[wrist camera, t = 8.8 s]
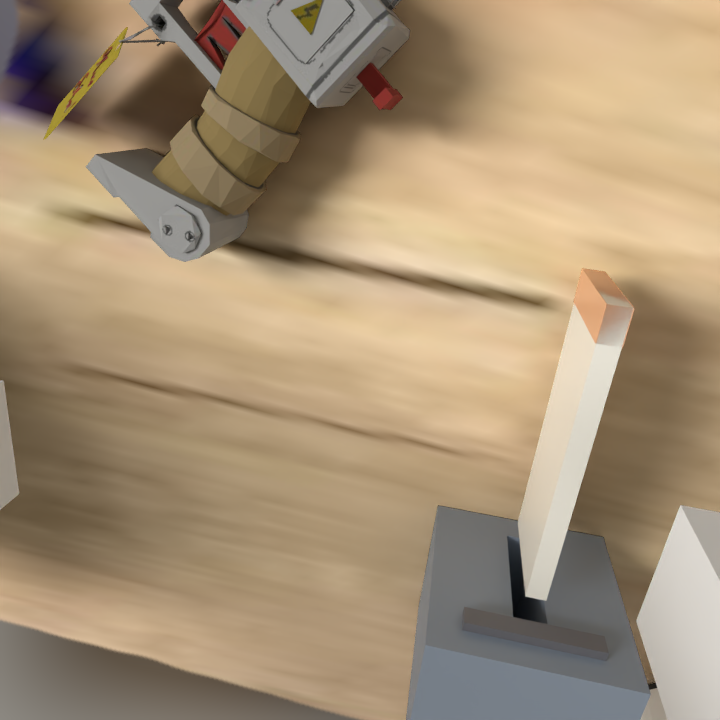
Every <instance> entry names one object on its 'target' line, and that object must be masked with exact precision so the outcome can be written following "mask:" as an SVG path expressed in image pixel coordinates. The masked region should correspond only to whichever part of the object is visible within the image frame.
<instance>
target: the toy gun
mask: <svg viewBox="0 0 720 720" xmlns="http://www.w3.org/2000/svg"><path fill="white" fill-rule="evenodd" d="M182 1H183V0H131V2H130V3H129V4H130V5H131V6H132V7H133V8H134V10H135V11H136V12H137V13H138V14H139V15H140V17H141V18H142V19H143V20H144V21H145V22H146V23H147V25H148V26H149V27H147V28H145V29H143V30H141V31H140V32H138V33H136V34H134V35H132V36H130V37H128V38H126V39H124V38H125V35H126V32H127V29H128V27H126V28H125V29H124V30H123V32H122V33H121V34H120V35H119V36H118V37H117V39H116V40H115V41H114V42H113V43H112V44H111V45H110V47H109V48H108V49H107V50H106V51H105V52H104V54H103V55H102V56H101V57H100V58H99V59H98V60H97V62H96V63H95V64H94V65H93V66H92V67H91V68H90V70H89V71H88V72H87V73H86V74H85V75H84V77H83V78H82V79H81V80H80V81H79V82H78V83H77V85H76V86H75V87H74V88H73V89H72V90H71V91H70V93H69V94H68V95H67V96H66V97H65V98H64V100H63V101H62V102H61V103H60V104H59V105H58V107H57V110H56V112H55V114H54V116H53V119H52V121H51V123H50V126H49V128H48V130H47V133H46V135H45V137H44V139H46V138H47V137H48V136H49V135H50V134H51V132H52V131H53V130H54V129H55V128H56V127H57V126H58V124H59V123H60V122H61V121H62V120H63V119H64V118H65V116H66V115H67V114H68V113H69V112H70V111H71V110H72V108H73V107H74V106H75V105H76V104H77V103H78V102H79V100H80V99H81V98H82V97H83V96H84V95H85V94H86V92H87V91H88V90H89V89H90V88H91V87H92V86H93V84H94V83H95V82H96V81H97V80H98V79H99V78H100V76H101V75H102V74H103V73H104V72H105V71H106V70H107V68H108V67H109V66H110V65H111V64H112V63H113V62H114V60H115V59H116V58H117V57H118V55H119V52H120V49H121V46H122V44H123V43H138V42H160V43H159V44H157V46H159V45H160V44H161V43H162V44H165V42H174V43H176V44H177V45H178V46H179V47H180V48H181V50H182V51H183V52H184V53H185V54H186V55H187V56H188V58H189V59H190V60H191V61H192V62H193V63H194V65H195V66H196V67H197V68H198V69H199V70H200V72H201V73H202V74H203V75H204V76H205V77H206V79H207V80H208V81H209V82H210V83H211V84H212V85H211V86H210V88H209V89H208V92H207V94H206V96H205V98H204V100H203V103H202V105H201V106H202V108H203V109H204V110H205V111H204V113H203V114H202V116H201V117H200V116H198V115H196V114H195V115H194V116H193V117H192V118H191V119H190V120H189V121H188V122H187V123H186V125H185V126H184V127H183V128H182V129H181V130H180V131H179V132H178V133H177V134H176V135H175V137H174V138H173V139H172V140H171V141H170V145H171V150H170V152H169V153H168V154H167V155H166V156H165V157H163V156H161V155H159V154H157V153H155V152H153V151H151V150H149V149H147V148H144V149H136V150H128V151H120V152H112V153H103V154H95V156H94V157H93V158H92V160H91V161H90V162H89V163H88V165H87V166H86V168H87V169H88V170H89V171H90V172H91V173H92V174H93V175H94V176H95V178H96V179H97V180H98V181H99V182H100V183H101V184H102V185H103V186H104V187H105V188H106V190H107V191H108V192H109V193H110V194H111V195H112V196H113V197H120V198H121V199H122V201H123V202H124V203H125V204H126V205H127V206H128V207H129V208H130V209H131V210H132V212H133V213H134V214H135V215H136V216H137V217H138V218H139V219H140V220H141V221H142V222H143V224H144V225H145V226H146V227H147V228H148V229H149V230H150V231H151V238H152V239H153V241H154V242H155V243H156V244H157V245H158V246H159V247H160V248H161V249H162V250H163V251H164V252H165V253H166V254H167V255H168V256H169V257H172V258H175V259H178V260H181V261H184V262H186V261H190V260H193V259H197V258H200V257H202V256H204V255H206V254H208V253H210V252H212V251H213V250H215V249H217V248H219V247H221V246H223V245H225V244H227V243H229V242H231V241H233V240H235V239H237V238H239V237H240V236H241V234H242V233H243V232H244V231H245V229H246V228H247V223H248V216H249V214H248V211H247V209H248V208H249V207H250V206H251V205H252V204H253V203H254V202H255V201H256V200H257V199H258V198H259V197H260V196H261V195H262V194H263V193H264V192H265V191H266V183H265V180H266V178H267V177H268V176H269V175H270V174H271V172H272V171H273V170H274V169H275V168H276V166H277V165H278V164H279V163H280V162H288V161H289V159H290V157H291V156H292V154H293V152H294V150H295V148H296V146H297V145H298V143H299V141H300V137H301V134H300V133H299V132H298V131H297V129H298V127H299V125H300V123H301V121H302V119H303V117H304V115H305V113H306V111H307V109H308V107H309V105H310V103H311V102H312V103H313V105H314V106H315V107H316V108H323V107H335V106H344V105H345V104H346V103H347V102H348V101H349V100H350V99H351V98H352V97H353V96H354V95H355V94H356V92H357V91H358V90H359V89H360V88H361V87H362V86H364V87H365V88H366V90H367V91H368V92H369V93H370V94H371V96H372V97H373V98H374V100H373V103H374V104H375V105H376V106H377V108H378V109H379V110H381V109H388V110H391V109H392V108H393V107H394V106H395V105H396V104H397V103H398V102H399V101H400V100H401V99H402V98H403V97H402V96H401V94H400V93H399V92H398V91H397V90H396V89H393V88H392V86H391V85H390V84H389V83H388V81H387V80H386V79H385V78H384V76H383V75H382V74H381V73H380V71H379V69H380V68H381V67H382V66H383V65H384V64H385V63H386V62H387V61H388V60H389V59H390V58H391V56H392V55H393V54H394V53H395V52H396V51H397V50H398V49H399V48H400V47H401V46H402V45H403V44H404V43H405V42H406V41H407V40H408V39H409V34H410V30H409V29H408V28H407V27H406V26H405V25H404V24H403V23H402V22H401V20H400V19H399V18H398V17H397V16H396V14H395V13H394V12H393V11H392V9H393V8H395V6H396V5H397V4H398V3H399V2H400V1H401V0H221V2H220V4H219V5H218V7H217V8H216V10H215V12H214V13H213V15H212V16H211V18H210V19H209V21H208V22H207V24H206V25H205V26H204V28H203V29H202V30H201V32H200V33H199V34H197V33H196V32H195V31H194V29H193V28H192V27H191V26H190V24H189V23H188V21H187V20H186V19H185V17H184V16H183V14H182V13H181V12H180V10H179V9H178V7H179V5H180V4H181V2H182ZM150 28H151V29H152V30H153V31H154V33H155V34H156V35H157V36H158V37H159V38H160V39H161V40H159V39H156V40H140V41H127V40H131V39H132V38H134V37H136V36H137V35H139V34H140V33H142V32H144V31H145V30H148V29H150ZM237 31H238V32H239V33H240V34H241V35H242V36H240V34H239V33H238V32H237ZM120 43H121V45H120V47H119V48H118V49H117V50H116V48H117V46H118V44H120ZM217 45H218V46H219V47H220V48H221V49H222V50H224V51H225V52H226V53H227V54H228V57H227V60H226V61H225V59H224V57H223V55H222V53H221V51H220V49H219V48H218V46H217ZM115 50H116V51H115ZM44 139H43V140H44Z"/></svg>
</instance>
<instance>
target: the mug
mask: <svg viewBox="0 0 720 720" xmlns="http://www.w3.org/2000/svg"><path fill="white" fill-rule="evenodd" d="M648 687H649V690H650V693H651V695H650V698H649V700H648V702H647V705H646V707H645V709H644V712H643V714H642V717H641V719H640V720H667V717H666V714H665V711H664V708H663V704H662V701H661V698H660V695H659V692H658V689H657V685H656V683H654V684H650V685H648Z"/></svg>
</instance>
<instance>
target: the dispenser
mask: <svg viewBox="0 0 720 720" xmlns="http://www.w3.org/2000/svg"><path fill="white" fill-rule="evenodd" d="M650 695H651V693H650V690H649V687H648V683H647V680H646V677H645V674H644V670H643V667H642V664H641V660H640V657H639V654H638V650H637V647H636V644H635V640H634V637H633V634H632V630H631V627H630V624H629V620H628V617H627V614H626V611H625V607H624V604H623V601H622V597H621V594H620V591H619V587H618V584H617V581H616V577H615V574H614V571H613V567H612V564H611V561H610V557H609V554H608V551H607V548H606V544H605V541H604V538H603V537H600V536H595V535H590V534H584V533H579V532H574V531H569V530H567V533H566V536H565V540H564V543H563V547H562V550H561V553H560V557H559V560H558V563H557V567H556V570H555V573H554V577H553V580H552V583H551V587H550V590H549V593H548V597H547V600H546V601H545V600H540V599H535V598H530V597H525V588H524V578H523V569H522V559H521V549H520V540H519V530H518V521H517V520H511V519H506V518H501V517H496V516H491V515H485V514H480V513H475V512H470V511H465V510H459V509H454V508H449V507H444V506H439V505H438V508H437V513H436V519H435V524H434V529H433V534H432V540H431V545H430V550H429V555H428V561H427V566H426V571H425V576H424V582H423V587H422V592H421V597H420V603H419V609H418V618H417V627H416V636H415V645H414V654H413V663H412V672H411V681H410V690H409V699H408V708H407V716H406V720H640V719H641V717H642V714H643V712H644V709H645V707H646V705H647V702H648V700H649V698H650Z"/></svg>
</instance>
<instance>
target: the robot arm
mask: <svg viewBox="0 0 720 720" xmlns="http://www.w3.org/2000/svg"><path fill="white" fill-rule="evenodd" d="M18 494H19V487H18V480H17V473H16V466H15V458H14V451H13V444H12V437H11V430H10V422H9V415H8V408H7V401H6V393H5V386H4V381H2V380H0V510H1V509H2V508H3V507H4V506H5V505H7V504H8V503H9V502H10V501H11V500H13V499H14V498H15V497H16V496H17V495H18ZM636 622H637V625H638V628H639V632H640V635H641V638H642V641H643V644H644V647H645V651H646V654H647V657H648V660H649V663H650V666H651V670H652V673H653V676H654V679H655V682H656V685H657V689H658V692H659V695H660V698H661V701H662V704H663V708H664V711H665V714H666V717H667V720H720V512H715V511H710V510H705V509H699V508H694V507H688V506H683V505H680V507H679V510H678V513H677V515H676V518H675V521H674V523H673V526H672V528H671V531H670V534H669V536H668V539H667V541H666V544H665V547H664V549H663V552H662V555H661V557H660V560H659V562H658V565H657V568H656V570H655V573H654V575H653V578H652V581H651V583H650V586H649V589H648V591H647V594H646V596H645V599H644V602H643V604H642V607H641V610H640V612H639V615H638V617H637V620H636Z"/></svg>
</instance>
